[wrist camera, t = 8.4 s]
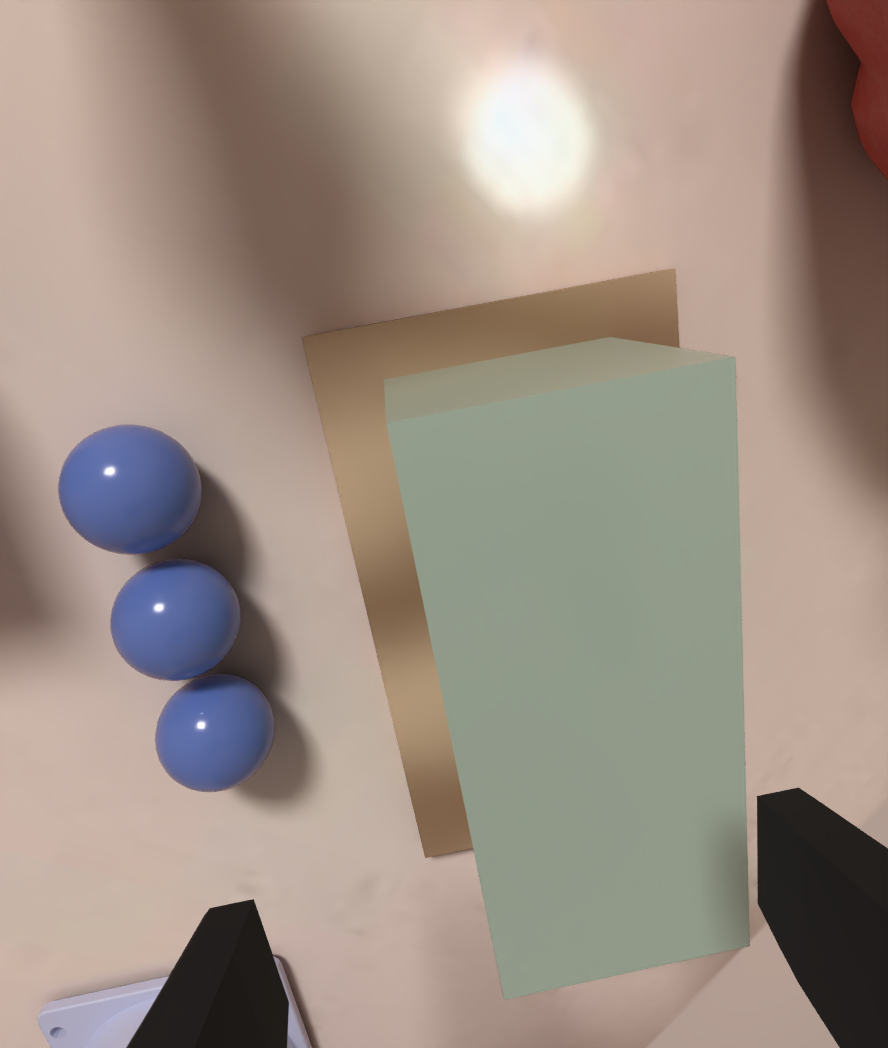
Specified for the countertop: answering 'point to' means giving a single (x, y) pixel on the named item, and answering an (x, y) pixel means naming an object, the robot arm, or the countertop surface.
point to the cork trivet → (375, 499)
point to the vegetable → (868, 71)
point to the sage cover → (587, 645)
